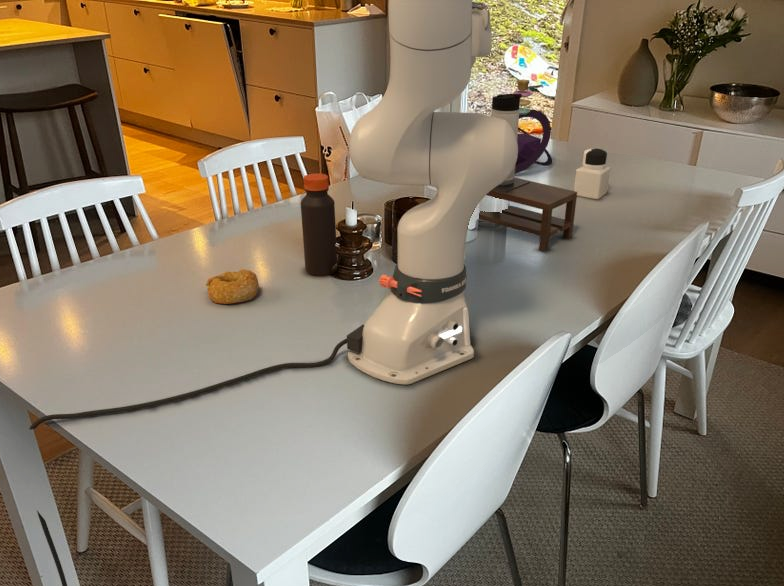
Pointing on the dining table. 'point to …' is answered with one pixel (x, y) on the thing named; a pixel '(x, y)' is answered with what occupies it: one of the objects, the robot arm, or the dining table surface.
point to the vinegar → (318, 226)
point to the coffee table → (531, 220)
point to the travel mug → (507, 118)
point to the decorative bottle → (528, 144)
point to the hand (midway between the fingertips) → (447, 75)
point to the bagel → (233, 287)
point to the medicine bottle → (592, 174)
